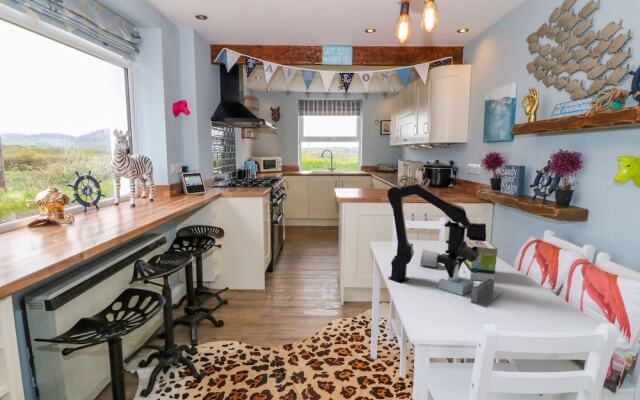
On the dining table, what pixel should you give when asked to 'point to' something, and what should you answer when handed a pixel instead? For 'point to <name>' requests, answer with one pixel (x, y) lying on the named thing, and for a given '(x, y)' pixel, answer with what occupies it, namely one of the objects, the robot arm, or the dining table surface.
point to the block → (457, 285)
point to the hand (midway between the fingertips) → (453, 276)
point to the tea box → (481, 261)
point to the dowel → (455, 274)
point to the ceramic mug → (429, 258)
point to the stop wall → (484, 293)
